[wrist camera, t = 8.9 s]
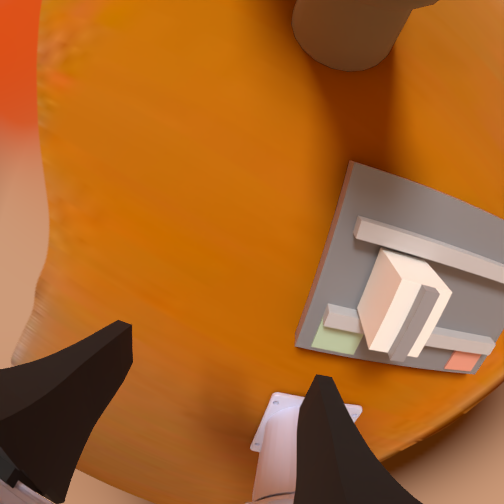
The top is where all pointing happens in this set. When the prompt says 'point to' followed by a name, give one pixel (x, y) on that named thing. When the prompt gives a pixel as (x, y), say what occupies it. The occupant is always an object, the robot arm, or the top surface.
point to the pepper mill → (350, 29)
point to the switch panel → (417, 245)
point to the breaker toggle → (401, 304)
